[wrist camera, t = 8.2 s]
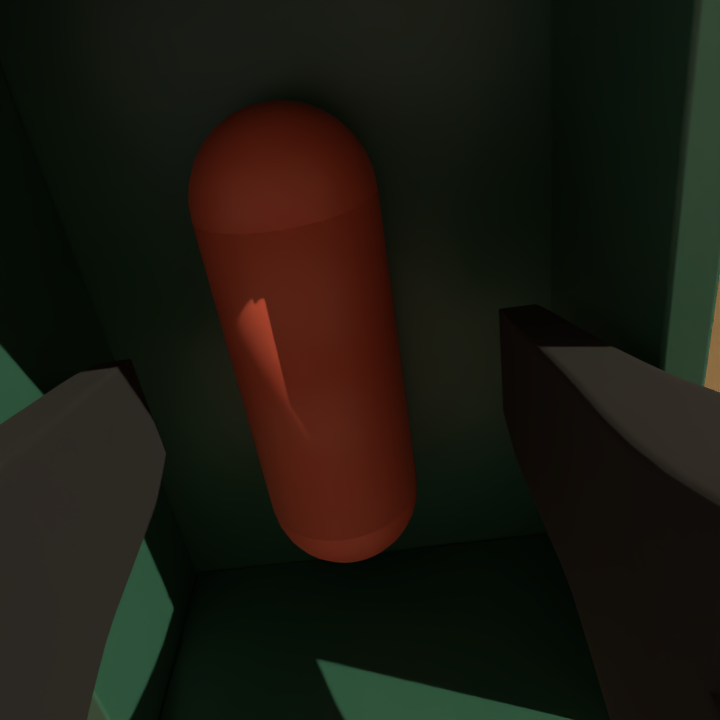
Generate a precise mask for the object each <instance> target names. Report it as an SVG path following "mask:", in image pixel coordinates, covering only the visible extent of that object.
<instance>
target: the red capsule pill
mask: <svg viewBox="0 0 720 720" xmlns="http://www.w3.org/2000/svg"><path fill="white" fill-rule="evenodd" d="M188 204H189V210H190V215H191V221H192V225H193V228H194V232H195V235H196V239H197V242H198V246H199V249H200V253H201V256H202V260H203V263H204V267H205V271H206V274H207V278H208V281H209V285H210V288H211V292H212V295H213V299H214V302H215V306H216V309H217V313H218V316H219V320H220V323H221V327H222V330H223V334H224V338H225V341H226V345H227V348H228V352H229V355H230V359H231V362H232V366H233V369H234V373H235V376H236V380H237V383H238V387H239V390H240V394H241V397H242V401H243V405H244V408H245V412H246V415H247V419H248V422H249V426H250V429H251V433H252V436H253V440H254V443H255V447H256V450H257V454H258V457H259V461H260V464H261V468H262V471H263V475H264V479H265V482H266V486H267V489H268V493H269V496H270V500H271V503H272V507H273V510H274V513H275V515H276V517H277V519H278V522H279V524H280V526H281V528H282V529H283V530H284V532H285V533H286V534H287V535H288V537H289V538H290V539H291V540H292V542H293V543H294V544H296V545H297V546H298V547H299V548H301V549H302V550H304V551H305V552H307V553H308V554H310V555H312V556H314V557H316V558H319V559H322V560H327V561H331V562H339V563H349V562H357V561H361V560H366V559H368V558H370V557H373V556H375V555H377V554H379V553H380V552H382V551H384V550H385V549H386V548H388V547H389V546H390V545H391V544H392V543H394V542H395V541H396V540H397V539H398V538H399V536H400V535H401V534H402V533H403V531H404V529H405V528H406V526H407V525H408V523H409V521H410V519H411V516H412V514H413V510H414V506H415V502H416V497H417V477H416V469H415V462H414V454H413V447H412V439H411V432H410V424H409V417H408V409H407V402H406V394H405V387H404V379H403V372H402V364H401V357H400V349H399V342H398V334H397V327H396V319H395V312H394V304H393V297H392V289H391V282H390V274H389V267H388V259H387V252H386V244H385V237H384V229H383V222H382V214H381V207H380V199H379V192H378V186H377V181H376V177H375V173H374V169H373V166H372V163H371V161H370V159H369V157H368V155H367V152H366V150H365V149H364V147H363V146H362V144H361V143H360V142H359V140H358V139H357V138H356V136H355V135H354V134H353V133H352V132H351V131H350V130H349V129H348V128H347V127H346V126H345V125H344V124H343V123H342V122H341V121H340V120H339V119H337V118H336V117H334V116H332V115H331V114H329V113H327V112H326V111H324V110H323V109H320V108H318V107H315V106H312V105H309V104H306V103H303V102H298V101H289V100H269V101H263V102H258V103H254V104H251V105H248V106H246V107H244V108H242V109H240V110H238V111H236V112H234V113H232V114H230V115H229V116H228V117H227V118H225V119H224V120H223V121H222V122H221V123H220V124H218V125H217V126H216V127H215V128H214V129H213V130H212V131H211V133H210V134H209V135H208V137H207V138H206V139H205V141H204V142H203V143H202V145H201V147H200V149H199V151H198V153H197V155H196V158H195V160H194V163H193V167H192V171H191V176H190V180H189V191H188Z"/></svg>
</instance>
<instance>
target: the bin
mask: <svg viewBox="0 0 720 720" xmlns="http://www.w3.org/2000/svg"><path fill="white" fill-rule="evenodd" d="M269 100H289V101H298V102H303V103H306V104H309V105H312V106H315V107H318V108H320V109H323V110H324V111H326V112H327V113H329V114H331V115H332V116H334V117H336V118H337V119H339V120H340V121H341V122H342V123H343V124H344V125H345V126H346V127H347V128H348V129H349V130H350V131H351V132H352V133H353V134H354V135H355V136H356V138H357V139H358V140H359V142H360V143H361V144H362V146H363V147H364V149H365V150H366V152H367V155H368V157H369V159H370V161H371V163H372V166H373V169H374V173H375V177H376V181H377V186H378V192H379V199H380V207H381V214H382V222H383V229H384V237H385V244H386V252H387V259H388V267H389V274H390V282H391V289H392V297H393V304H394V312H395V319H396V327H397V334H398V342H399V349H400V357H401V364H402V372H403V379H404V387H405V394H406V402H407V409H408V417H409V424H410V432H411V439H412V447H413V454H414V462H415V469H416V477H417V497H416V502H415V506H414V510H413V514H412V516H411V519H410V521H409V523H408V525H407V526H406V528H405V529H404V531H403V533H402V534H401V535H400V536H399V538H398V539H397V540H396V541H395V542H394V543H392V544H391V545H390V546H389V547H388V548H386V549H385V550H384V551H382V552H380V553H379V554H377V555H375V556H373V557H370V558H368V559H366V560H361V561H357V562H349V563H339V562H331V561H327V560H322V559H319V558H316V557H314V556H312V555H310V554H308V553H307V552H305V551H304V550H302V549H301V548H299V547H298V546H297V545H296V544H294V543H293V542H292V540H291V539H290V538H289V537H288V535H287V534H286V533H285V532H284V530H283V529H282V528H281V526H280V524H279V522H278V519H277V517H276V515H275V513H274V510H273V507H272V503H271V500H270V496H269V493H268V489H267V486H266V482H265V479H264V475H263V471H262V468H261V464H260V461H259V457H258V454H257V450H256V447H255V443H254V440H253V436H252V433H251V429H250V426H249V422H248V419H247V415H246V412H245V408H244V405H243V401H242V397H241V394H240V390H239V387H238V383H237V380H236V376H235V373H234V369H233V366H232V362H231V359H230V355H229V352H228V348H227V345H226V341H225V338H224V334H223V330H222V327H221V323H220V320H219V316H218V313H217V309H216V306H215V302H214V299H213V295H212V292H211V288H210V285H209V281H208V278H207V274H206V271H205V267H204V263H203V260H202V256H201V253H200V249H199V246H198V242H197V239H196V235H195V232H194V228H193V225H192V221H191V215H190V210H189V204H188V191H189V180H190V176H191V171H192V167H193V163H194V160H195V158H196V155H197V153H198V151H199V149H200V147H201V145H202V143H203V142H204V141H205V139H206V138H207V137H208V135H209V134H210V133H211V131H212V130H213V129H214V128H215V127H216V126H217V125H218V124H220V123H221V122H222V121H223V120H224V119H225V118H227V117H228V116H229V115H230V114H232V113H234V112H236V111H238V110H240V109H242V108H244V107H246V106H248V105H251V104H254V103H258V102H263V101H269ZM719 275H720V0H0V424H1V423H3V422H4V421H6V420H7V419H9V418H10V417H12V416H13V415H15V414H16V413H18V412H19V411H21V410H22V409H24V408H25V407H27V406H28V405H30V404H31V403H33V402H34V401H36V400H37V399H39V398H40V397H42V396H43V395H45V394H46V393H48V392H49V391H51V390H52V389H54V388H55V387H57V386H58V385H60V384H61V383H63V382H65V381H66V380H68V379H69V378H71V377H73V376H74V375H76V374H78V373H79V372H81V371H83V370H85V369H87V368H89V367H91V366H93V365H95V364H98V363H105V362H113V361H120V360H127V359H131V361H132V363H133V366H134V369H135V371H136V374H137V377H138V380H139V382H140V385H141V388H142V390H143V393H144V396H145V398H146V401H147V404H148V407H149V409H150V412H151V415H152V417H153V420H154V423H155V425H156V428H157V431H158V434H159V436H160V439H161V442H162V444H163V447H164V450H165V452H166V456H165V462H164V467H163V473H162V478H161V483H160V488H159V492H158V497H157V501H156V505H155V508H154V511H153V513H152V516H151V519H150V522H149V525H148V527H147V530H146V533H145V536H144V538H143V541H142V544H141V547H140V549H139V552H138V555H137V557H136V560H135V563H134V565H133V568H132V571H131V573H130V576H129V579H128V581H127V584H126V587H125V589H124V592H123V595H122V597H121V600H120V603H119V605H118V608H117V611H116V613H115V616H114V619H113V622H112V625H111V628H110V632H109V635H108V638H107V641H106V644H105V648H104V652H103V656H102V660H101V664H100V668H99V672H98V676H97V680H96V684H95V688H94V692H93V696H92V700H91V704H90V708H89V713H88V718H87V720H610V718H609V714H608V711H607V708H606V704H605V701H604V697H603V694H602V690H601V687H600V684H599V680H598V677H597V673H596V670H595V667H594V663H593V660H592V656H591V653H590V649H589V646H588V643H587V640H586V637H585V633H584V630H583V627H582V624H581V620H580V617H579V614H578V611H577V607H576V604H575V601H574V598H573V594H572V591H571V589H570V586H569V583H568V581H567V578H566V575H565V573H564V570H563V567H562V565H561V563H560V560H559V558H558V556H557V553H556V551H555V549H554V546H553V544H552V542H551V539H550V537H549V535H548V532H547V530H546V528H545V525H544V523H543V521H542V518H541V516H540V514H539V512H538V509H537V507H536V505H535V502H534V500H533V498H532V495H531V493H530V491H529V488H528V486H527V483H526V481H525V479H524V476H523V474H522V472H521V469H520V467H519V464H518V462H517V460H516V456H515V453H514V449H513V446H512V442H511V439H510V435H509V431H508V427H507V424H506V420H505V416H504V412H503V396H502V373H501V349H500V326H499V309H502V308H510V307H517V306H524V305H532V304H537V305H540V306H542V307H544V308H546V309H548V310H549V311H551V312H553V313H555V314H556V315H558V316H560V317H562V318H563V319H565V320H567V321H569V322H570V323H572V324H574V325H575V326H577V327H579V328H581V329H582V330H584V331H586V332H588V333H589V334H591V335H593V336H595V337H597V338H598V339H600V340H602V341H604V342H606V343H608V344H609V345H611V346H613V347H615V348H617V349H619V350H621V351H623V352H625V353H627V354H629V355H631V356H633V357H635V358H637V359H639V360H641V361H643V362H646V363H648V364H650V365H652V366H654V367H656V368H659V369H661V370H663V371H665V372H667V373H670V374H672V375H674V376H677V377H679V378H682V379H684V380H687V381H689V382H692V383H695V384H697V385H700V386H703V387H704V383H705V375H706V368H707V361H708V354H709V347H710V339H711V332H712V325H713V318H714V311H715V304H716V296H717V289H718V282H719Z"/></svg>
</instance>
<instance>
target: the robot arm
mask: <svg viewBox="0 0 720 720" xmlns="http://www.w3.org/2000/svg"><path fill="white" fill-rule="evenodd" d="M499 326H500V349H501V373H502V396H503V412H504V416H505V420H506V424H507V427H508V431H509V435H510V439H511V442H512V446H513V449H514V453H515V456H516V460H517V462H518V464H519V467H520V469H521V472H522V474H523V476H524V479H525V481H526V483H527V486H528V488H529V491H530V493H531V495H532V498H533V500H534V502H535V505H536V507H537V509H538V512H539V514H540V516H541V518H542V521H543V523H544V525H545V528H546V530H547V532H548V535H549V537H550V539H551V542H552V544H553V546H554V549H555V551H556V553H557V556H558V558H559V560H560V563H561V565H562V567H563V570H564V573H565V575H566V578H567V581H568V583H569V586H570V589H571V591H572V594H573V598H574V601H575V604H576V607H577V611H578V614H579V617H580V620H581V624H582V627H583V630H584V633H585V637H586V640H587V643H588V646H589V649H590V653H591V656H592V660H593V663H594V667H595V670H596V673H597V677H598V680H599V684H600V687H601V690H602V694H603V697H604V701H605V704H606V708H607V711H608V714H609V718H610V720H720V393H719V392H717V391H714V390H711V389H708V388H706V387H703V386H700V385H697V384H695V383H692V382H689V381H687V380H684V379H682V378H679V377H677V376H674V375H672V374H670V373H667V372H665V371H663V370H661V369H659V368H656V367H654V366H652V365H650V364H648V363H646V362H643V361H641V360H639V359H637V358H635V357H633V356H631V355H629V354H627V353H625V352H623V351H621V350H619V349H617V348H615V347H613V346H611V345H609V344H608V343H606V342H604V341H602V340H600V339H598V338H597V337H595V336H593V335H591V334H589V333H588V332H586V331H584V330H582V329H581V328H579V327H577V326H575V325H574V324H572V323H570V322H569V321H567V320H565V319H563V318H562V317H560V316H558V315H556V314H555V313H553V312H551V311H549V310H548V309H546V308H544V307H542V306H540V305H537V304H532V305H524V306H517V307H510V308H502V309H499ZM165 456H166V452H165V450H164V447H163V444H162V442H161V439H160V436H159V434H158V431H157V428H156V425H155V423H154V420H153V417H152V415H151V412H150V409H149V407H148V404H147V401H146V398H145V396H144V393H143V390H142V388H141V385H140V382H139V380H138V377H137V374H136V371H135V369H134V366H133V363H132V361H131V359H127V360H120V361H113V362H105V363H98V364H95V365H93V366H91V367H89V368H87V369H85V370H83V371H81V372H79V373H78V374H76V375H74V376H73V377H71V378H69V379H68V380H66V381H65V382H63V383H61V384H60V385H58V386H57V387H55V388H54V389H52V390H51V391H49V392H48V393H46V394H45V395H43V396H42V397H40V398H39V399H37V400H36V401H34V402H33V403H31V404H30V405H28V406H27V407H25V408H24V409H22V410H21V411H19V412H18V413H16V414H15V415H13V416H12V417H10V418H9V419H7V420H6V421H4V422H3V423H1V424H0V720H87V718H88V713H89V708H90V704H91V700H92V696H93V692H94V688H95V684H96V680H97V676H98V672H99V668H100V664H101V660H102V656H103V652H104V648H105V644H106V641H107V638H108V635H109V632H110V628H111V625H112V622H113V619H114V616H115V613H116V611H117V608H118V605H119V603H120V600H121V597H122V595H123V592H124V589H125V587H126V584H127V581H128V579H129V576H130V573H131V571H132V568H133V565H134V563H135V560H136V557H137V555H138V552H139V549H140V547H141V544H142V541H143V538H144V536H145V533H146V530H147V527H148V525H149V522H150V519H151V516H152V513H153V511H154V508H155V505H156V501H157V497H158V492H159V488H160V483H161V478H162V473H163V467H164V462H165Z"/></svg>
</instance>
